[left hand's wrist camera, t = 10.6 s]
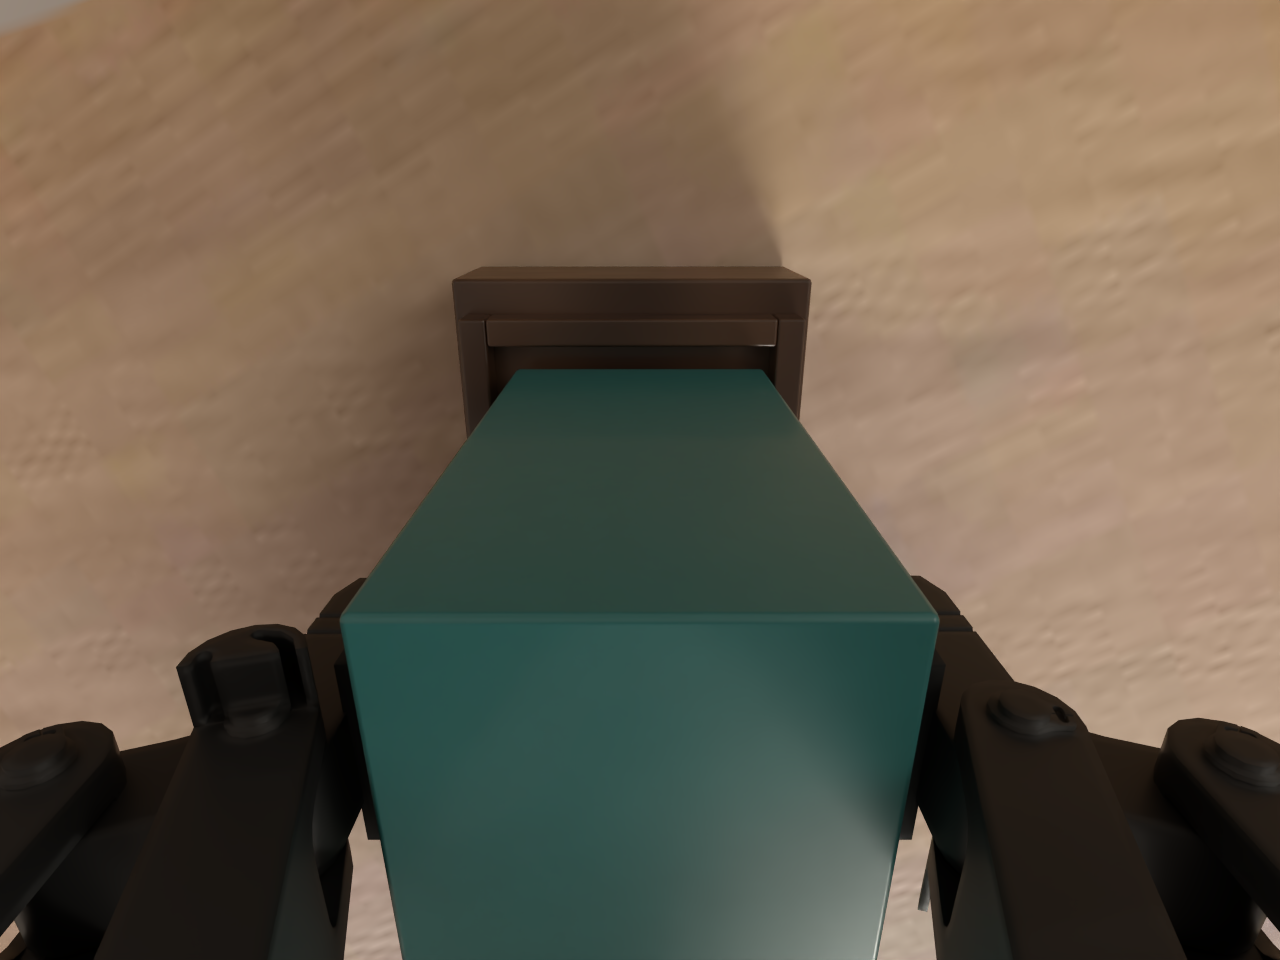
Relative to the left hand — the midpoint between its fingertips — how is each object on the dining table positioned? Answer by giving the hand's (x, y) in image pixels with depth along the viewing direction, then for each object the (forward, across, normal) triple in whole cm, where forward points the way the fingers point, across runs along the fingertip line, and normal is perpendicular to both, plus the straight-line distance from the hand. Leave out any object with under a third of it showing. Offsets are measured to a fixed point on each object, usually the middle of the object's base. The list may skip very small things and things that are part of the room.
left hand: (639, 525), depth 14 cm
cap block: (+2, 0, 0) cm, 2 cm away
